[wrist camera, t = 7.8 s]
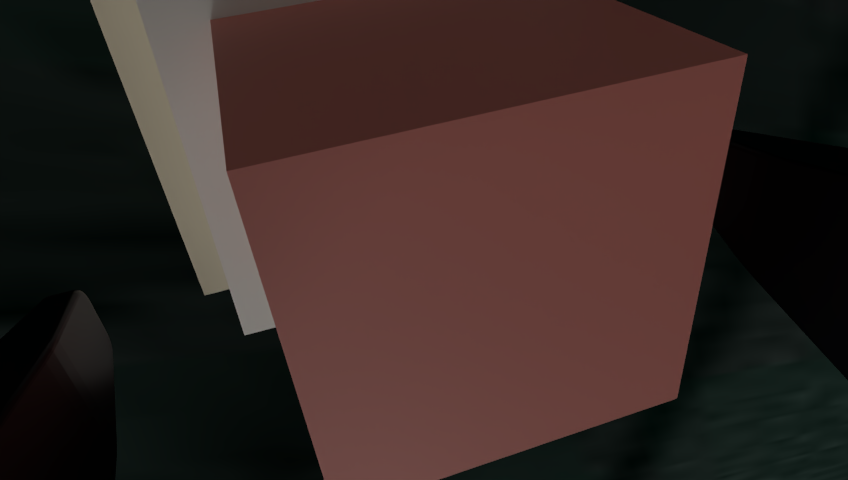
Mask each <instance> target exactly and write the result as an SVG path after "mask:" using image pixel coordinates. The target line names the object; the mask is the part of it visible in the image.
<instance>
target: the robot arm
mask: <svg viewBox="0 0 848 480" xmlns="http://www.w3.org/2000/svg"><path fill="white" fill-rule="evenodd" d="M713 226H714V228H715V229H716V230H717V232H718V233H719V234H720V236H721V237H722V238H723V240H724V241H725V242H726V244H727V245H728V246H729V248H730V249H731V250H732V252H733V253H734V255H735V256H736V257H737V258H738V260H739V261H740V262H741V263H742V265H743V266H744V267H745V268H746V269H747V271H748V272H749V273H750V274H751V275H752V276H753V277H754V279H755V280H756V281H757V282H758V283H759V284H760V285H761V286H762V287H763V288H764V289H765V291H766V292H767V293H768V294H769V295H770V296H771V297H772V298H773V299H774V300H775V301H776V302H777V304H778V305H779V306H780V307H781V308H782V309H783V310H784V311H785V312H786V313H787V314H788V316H789V317H790V318H791V319H792V320H793V321H794V322H795V323H796V324H797V325H798V326H799V328H800V329H801V330H802V331H803V332H804V333H805V334H806V335H807V336H808V337H809V338H810V340H811V341H812V342H813V343H814V344H815V345H816V346H817V347H818V348H819V349H820V350H821V351H822V353H823V354H824V355H825V356H826V357H827V358H828V359H829V360H830V361H831V362H832V363H833V365H834V366H835V367H836V368H837V369H838V370H839V371H840V372H841V373H842V374H843V375H844V377H845V378H846V379H847V380H848V148H844V147H838V146H832V145H826V144H820V143H813V142H807V141H801V140H795V139H789V138H783V137H776V136H770V135H764V134H758V133H752V132H745V131H739V130H733V129H732V133H731V138H730V143H729V148H728V152H727V157H726V162H725V167H724V172H723V177H722V182H721V186H720V191H719V196H718V201H717V206H716V211H715V216H714V220H713ZM116 458H117V438H116V415H115V392H114V369H113V351H112V345H111V342H110V339H109V336H108V334H107V332H106V330H105V328H104V326H103V325H102V323H101V321H100V319H99V317H98V315H97V313H96V312H95V310H94V308H93V306H92V304H91V302H90V300H89V299H88V297H87V296H86V295H85V293H83V292H82V291H80V290H72V291H68V292H64V293H60V294H56V295H52V296H48V297H46V298H44V299H43V300H42V301H41V302H40V303H39V304H38V305H37V306H36V307H34V308H33V309H32V310H31V311H30V312H29V313H28V314H27V315H26V316H25V317H24V318H23V319H22V320H21V321H19V322H18V323H17V324H16V325H15V326H14V327H13V328H12V329H11V330H10V331H9V332H8V333H7V334H6V335H4V336H3V337H2V338H1V339H0V480H115V474H116Z"/></svg>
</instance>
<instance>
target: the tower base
mask: <svg viewBox="0 0 848 480" xmlns="http://www.w3.org/2000/svg"><path fill="white" fill-rule="evenodd" d="M90 1H91V4H92V6H93V9H94V11H95V14H96V17H97V19H98V22H99V24H100V27H101V30H102V32H103V35H104V37H105V40H106V42H107V45H108V48H109V50H110V53H111V55H112V58H113V60H114V63H115V66H116V68H117V71H118V73H119V76H120V79H121V81H122V84H123V86H124V89H125V91H126V94H127V97H128V99H129V102H130V104H131V107H132V109H133V112H134V115H135V117H136V120H137V122H138V125H139V127H140V130H141V133H142V135H143V138H144V140H145V143H146V146H147V148H148V151H149V153H150V156H151V158H152V161H153V164H154V166H155V169H156V171H157V174H158V176H159V179H160V182H161V184H162V187H163V189H164V192H165V195H166V197H167V200H168V202H169V205H170V207H171V210H172V213H173V215H174V218H175V220H176V223H177V225H178V228H179V231H180V233H181V236H182V238H183V241H184V243H185V246H186V249H187V251H188V254H189V256H190V259H191V262H192V264H193V267H194V269H195V272H196V274H197V277H198V280H199V282H200V285H201V287H202V290H203V292H204V295H208V294H212V293H216V292H220V291H223V290H227V289H229V286H228V283H227V280H226V277H225V274H224V271H223V268H222V264H221V261H220V258H219V255H218V252H217V249H216V246H215V243H214V240H213V237H212V234H211V231H210V227H209V224H208V221H207V218H206V215H205V212H204V209H203V206H202V203H201V200H200V197H199V194H198V190H197V187H196V184H195V181H194V178H193V175H192V172H191V169H190V166H189V163H188V160H187V157H186V153H185V150H184V147H183V144H182V141H181V138H180V135H179V132H178V129H177V126H176V123H175V120H174V117H173V113H172V110H171V107H170V104H169V101H168V98H167V95H166V92H165V89H164V86H163V83H162V80H161V76H160V73H159V70H158V67H157V64H156V61H155V58H154V55H153V52H152V49H151V46H150V43H149V39H148V36H147V33H146V30H145V27H144V24H143V21H142V18H141V15H140V12H139V9H138V6H137V3H136V0H90Z"/></svg>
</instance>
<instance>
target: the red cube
mask: <svg viewBox="0 0 848 480" xmlns="http://www.w3.org/2000/svg"><path fill="white" fill-rule="evenodd" d="M210 24H211V33H212V42H213V52H214V61H215V70H216V79H217V89H218V98H219V107H220V116H221V126H222V135H223V144H224V153H225V163H226V172H227V175H228V178H229V181H230V184H231V187H232V190H233V194H234V197H235V200H236V203H237V206H238V209H239V213H240V216H241V219H242V222H243V225H244V228H245V231H246V235H247V238H248V241H249V244H250V247H251V250H252V254H253V257H254V260H255V263H256V266H257V269H258V272H259V276H260V279H261V282H262V285H263V288H264V291H265V295H266V298H267V301H268V304H269V307H270V310H271V314H272V317H273V320H274V323H275V326H276V329H277V332H278V336H279V339H280V342H281V345H282V348H283V351H284V355H285V358H286V361H287V364H288V367H289V370H290V373H291V377H292V380H293V383H294V386H295V389H296V392H297V396H298V399H299V402H300V405H301V408H302V411H303V414H304V418H305V421H306V424H307V427H308V430H309V433H310V437H311V440H312V443H313V446H314V449H315V452H316V456H317V459H318V462H319V465H320V468H321V471H322V474H323V478H324V480H439V479H442V478H445V477H448V476H451V475H454V474H456V473H459V472H462V471H465V470H468V469H471V468H474V467H477V466H480V465H483V464H486V463H489V462H492V461H495V460H498V459H500V458H503V457H506V456H509V455H512V454H515V453H518V452H521V451H524V450H527V449H530V448H533V447H536V446H539V445H542V444H544V443H547V442H550V441H553V440H556V439H559V438H562V437H565V436H568V435H571V434H574V433H577V432H580V431H583V430H586V429H588V428H591V427H594V426H597V425H600V424H603V423H606V422H609V421H612V420H615V419H618V418H621V417H624V416H627V415H630V414H632V413H635V412H638V411H641V410H644V409H647V408H650V407H653V406H656V405H659V404H662V403H665V402H668V401H671V400H674V399H676V398H677V395H678V391H679V386H680V381H681V376H682V371H683V366H684V361H685V357H686V352H687V347H688V342H689V337H690V332H691V327H692V323H693V318H694V313H695V308H696V303H697V298H698V293H699V288H700V284H701V279H702V274H703V269H704V264H705V259H706V254H707V250H708V245H709V240H710V235H711V230H712V225H713V220H714V216H715V211H716V206H717V201H718V196H719V191H720V186H721V182H722V177H723V172H724V167H725V162H726V157H727V152H728V148H729V143H730V138H731V133H732V128H733V123H734V118H735V114H736V109H737V104H738V99H739V94H740V89H741V84H742V80H743V75H744V70H745V65H746V60H747V55H748V54H746V53H743V52H741V51H738V50H736V49H733V48H731V47H729V46H726V45H724V44H721V43H719V42H716V41H714V40H711V39H709V38H706V37H704V36H702V35H699V34H697V33H694V32H692V31H689V30H687V29H684V28H682V27H680V26H677V25H675V24H672V23H670V22H667V21H665V20H662V19H660V18H657V17H655V16H653V15H650V14H648V13H645V12H643V11H640V10H638V9H635V8H633V7H631V6H628V5H626V4H623V3H621V2H618V1H616V0H320V1H314V2H308V3H303V4H297V5H292V6H286V7H280V8H275V9H269V10H263V11H258V12H252V13H247V14H241V15H235V16H230V17H224V18H219V19H213V20H210Z"/></svg>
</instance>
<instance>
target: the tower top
mask: <svg viewBox="0 0 848 480" xmlns="http://www.w3.org/2000/svg"><path fill="white" fill-rule="evenodd" d="M314 1H320V0H136V3H137V6H138V9H139V12H140V15H141V18H142V21H143V24H144V27H145V30H146V33H147V36H148V39H149V43H150V46H151V49H152V52H153V55H154V58H155V61H156V64H157V67H158V70H159V73H160V76H161V80H162V83H163V86H164V89H165V92H166V95H167V98H168V101H169V104H170V107H171V110H172V113H173V117H174V120H175V123H176V126H177V129H178V132H179V135H180V138H181V141H182V144H183V147H184V150H185V153H186V157H187V160H188V163H189V166H190V169H191V172H192V175H193V178H194V181H195V184H196V187H197V190H198V194H199V197H200V200H201V203H202V206H203V209H204V212H205V215H206V218H207V221H208V224H209V227H210V231H211V234H212V237H213V240H214V243H215V246H216V249H217V252H218V255H219V258H220V261H221V264H222V268H223V271H224V274H225V277H226V280H227V283H228V286H229V289H230V292H231V295H232V298H233V301H234V304H235V308H236V311H237V314H238V317H239V320H240V323H241V326H242V329H243V332H244V335H248V334H252V333H255V332H259V331H263V330H267V329H271V328H275V327H276V326H275V323H274V320H273V317H272V314H271V310H270V307H269V304H268V301H267V298H266V295H265V291H264V288H263V285H262V282H261V279H260V276H259V272H258V269H257V266H256V263H255V260H254V257H253V254H252V250H251V247H250V244H249V241H248V238H247V235H246V231H245V228H244V225H243V222H242V219H241V216H240V213H239V209H238V206H237V203H236V200H235V197H234V194H233V190H232V187H231V184H230V181H229V178H228V175H227V172H226V163H225V153H224V144H223V135H222V126H221V116H220V107H219V98H218V89H217V79H216V70H215V61H214V52H213V42H212V33H211V24H210V20H213V19H219V18H224V17H230V16H235V15H241V14H247V13H252V12H258V11H263V10H269V9H275V8H280V7H286V6H292V5H297V4H303V3H308V2H314Z"/></svg>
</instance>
